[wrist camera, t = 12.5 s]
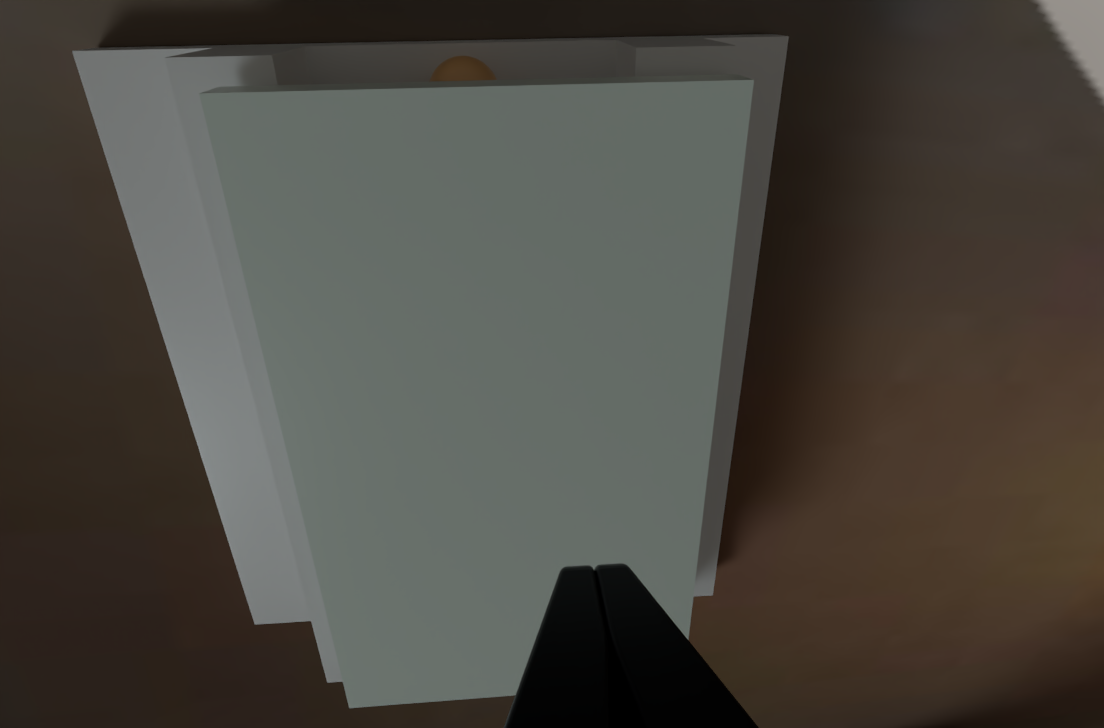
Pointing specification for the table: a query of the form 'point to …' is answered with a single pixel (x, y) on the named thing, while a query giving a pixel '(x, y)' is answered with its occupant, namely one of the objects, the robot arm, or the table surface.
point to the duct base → (219, 286)
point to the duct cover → (486, 345)
